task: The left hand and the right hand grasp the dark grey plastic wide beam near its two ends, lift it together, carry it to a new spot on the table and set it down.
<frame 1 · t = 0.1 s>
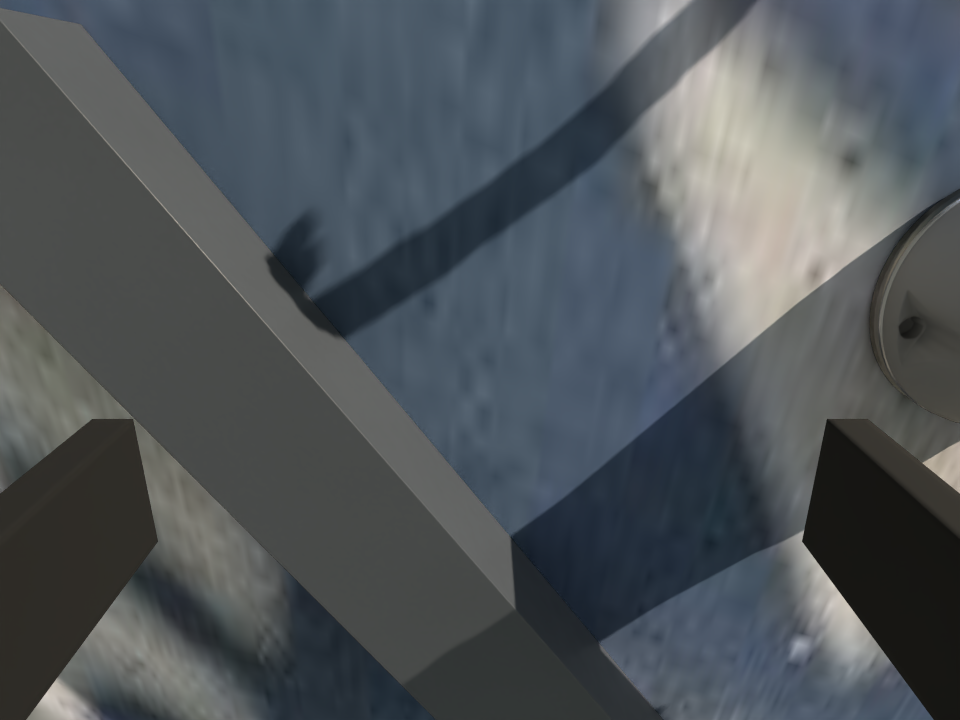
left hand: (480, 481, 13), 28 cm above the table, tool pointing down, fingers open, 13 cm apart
wide beam: (382, 485, 45), on the table
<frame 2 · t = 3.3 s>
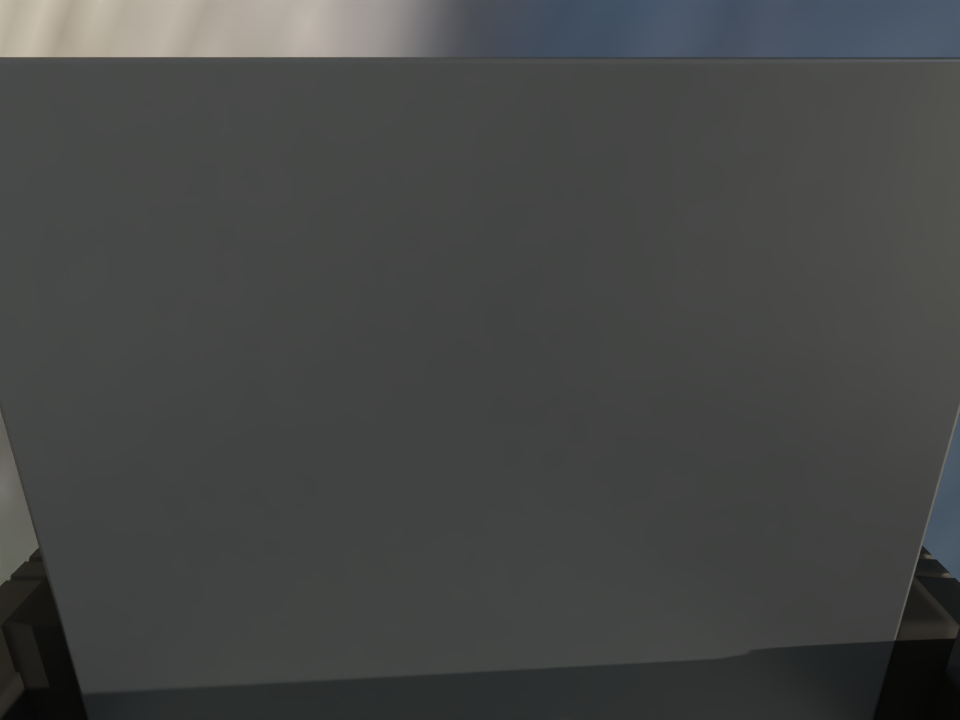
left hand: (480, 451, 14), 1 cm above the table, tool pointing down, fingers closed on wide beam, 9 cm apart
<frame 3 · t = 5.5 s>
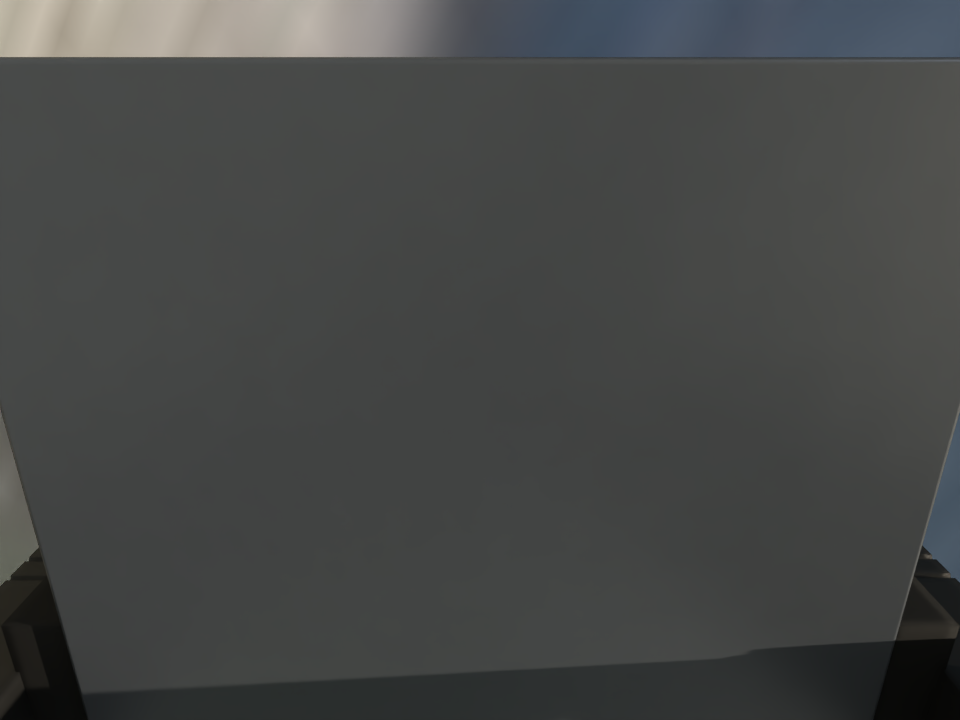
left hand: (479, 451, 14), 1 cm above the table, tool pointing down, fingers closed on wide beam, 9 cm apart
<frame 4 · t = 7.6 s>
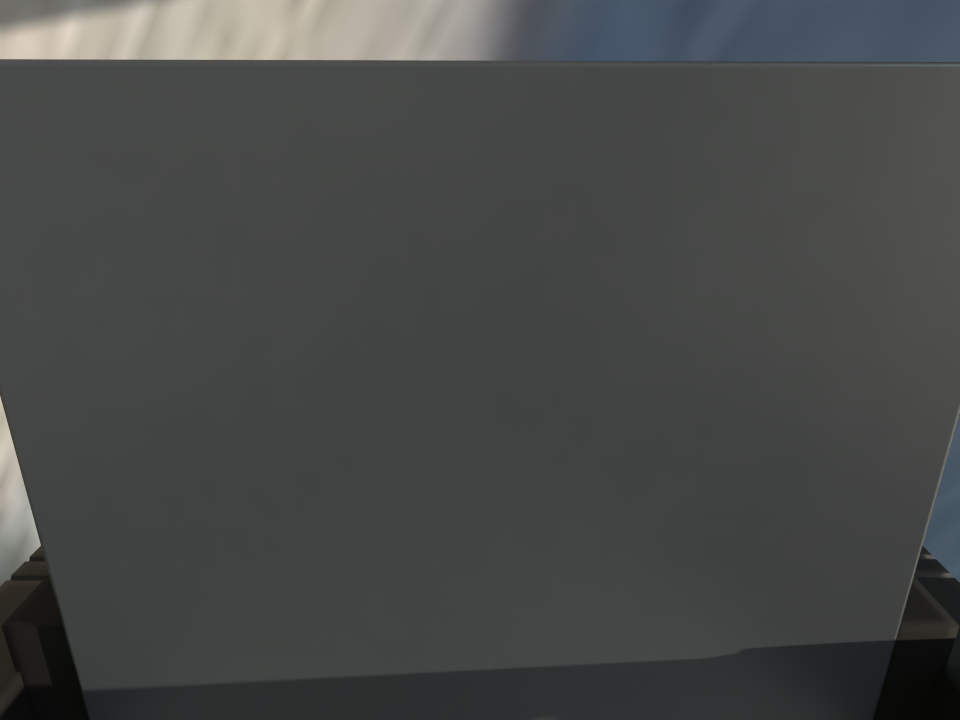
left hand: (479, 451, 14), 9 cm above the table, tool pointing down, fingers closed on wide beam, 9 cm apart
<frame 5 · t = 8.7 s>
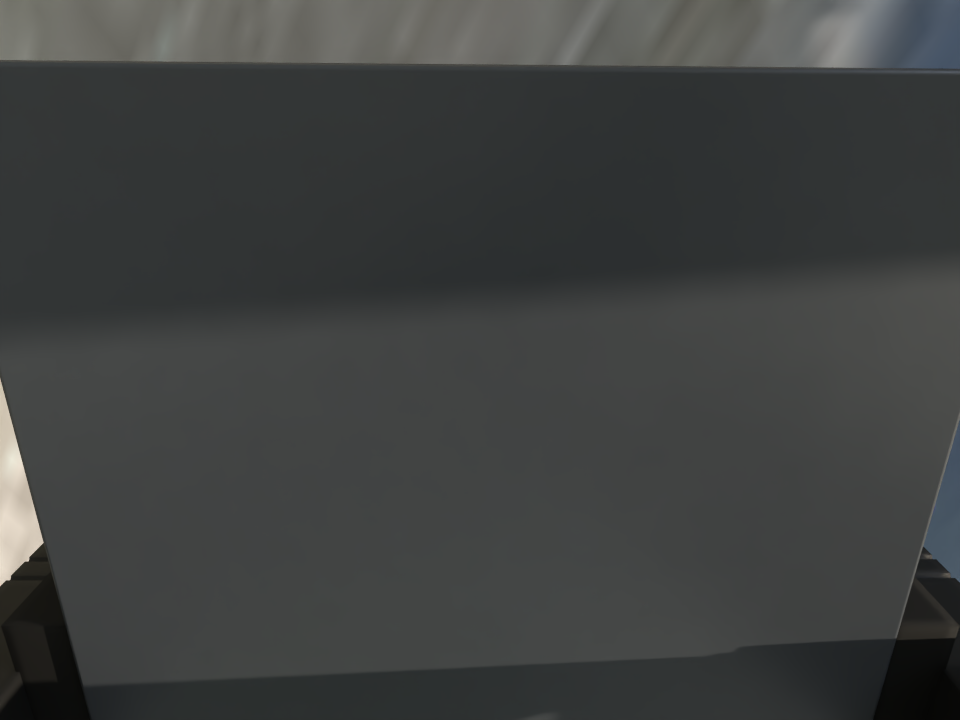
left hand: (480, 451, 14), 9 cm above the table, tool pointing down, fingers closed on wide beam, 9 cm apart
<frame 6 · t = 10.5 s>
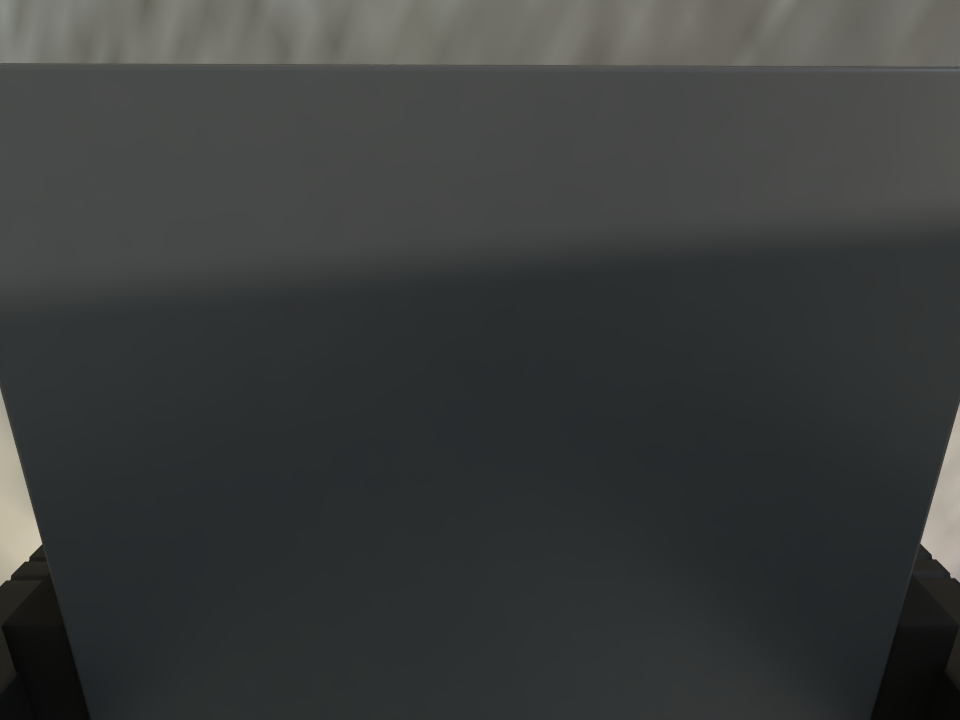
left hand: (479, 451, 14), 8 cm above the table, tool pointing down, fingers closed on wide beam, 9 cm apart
when the left hand's fingers open (1 cm above the table, at t = 11.8 s): wide beam stays where it is, on the table.
when the right hand's fingers open (1 cm above the table, at t = 11.8 s): wide beam stays where it is, on the table.
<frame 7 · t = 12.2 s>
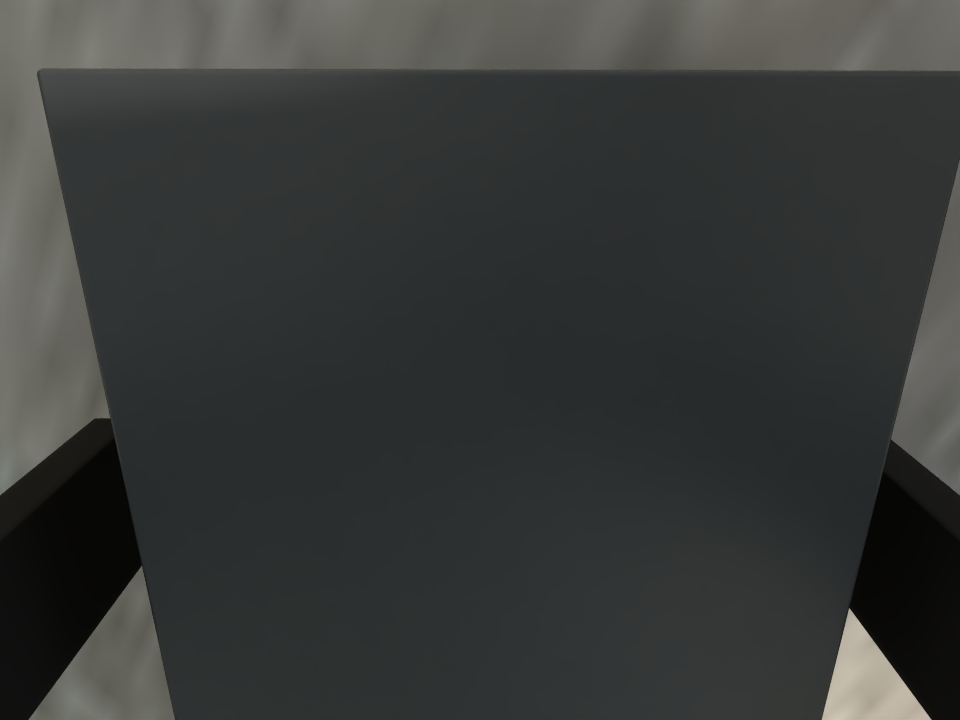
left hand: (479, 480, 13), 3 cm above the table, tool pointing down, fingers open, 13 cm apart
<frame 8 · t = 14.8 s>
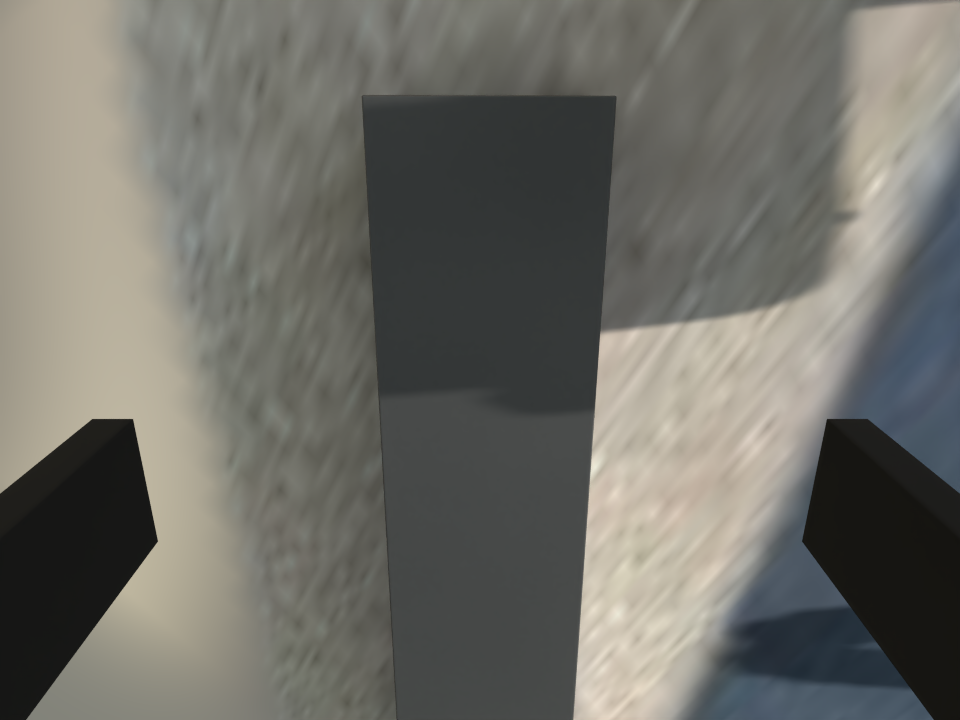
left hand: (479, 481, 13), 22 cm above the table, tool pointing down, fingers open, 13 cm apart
wide beam: (484, 631, 42), on the table
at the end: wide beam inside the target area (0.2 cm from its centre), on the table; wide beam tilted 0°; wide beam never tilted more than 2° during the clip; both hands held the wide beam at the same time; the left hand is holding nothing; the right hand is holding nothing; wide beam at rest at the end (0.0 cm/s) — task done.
